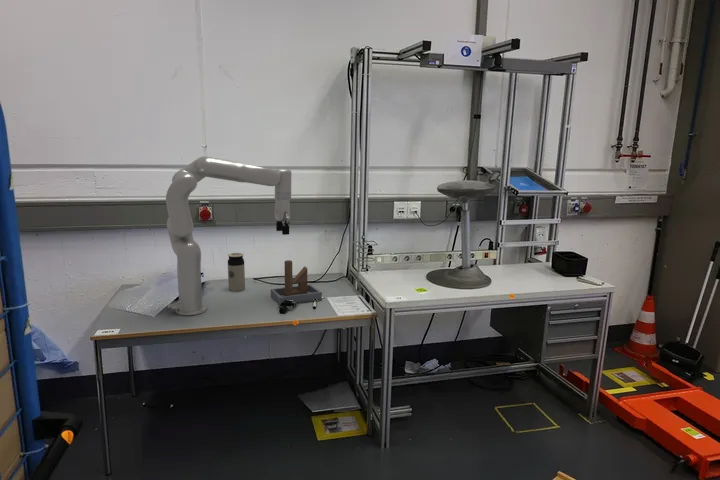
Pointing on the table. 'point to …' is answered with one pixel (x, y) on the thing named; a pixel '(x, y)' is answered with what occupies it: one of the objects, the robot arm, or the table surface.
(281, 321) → the table surface
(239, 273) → the travel mug
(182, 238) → the robot arm
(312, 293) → the tray
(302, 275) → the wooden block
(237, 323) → the table surface
